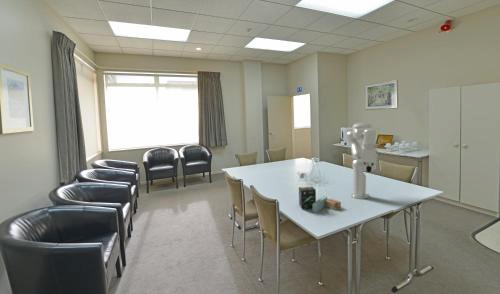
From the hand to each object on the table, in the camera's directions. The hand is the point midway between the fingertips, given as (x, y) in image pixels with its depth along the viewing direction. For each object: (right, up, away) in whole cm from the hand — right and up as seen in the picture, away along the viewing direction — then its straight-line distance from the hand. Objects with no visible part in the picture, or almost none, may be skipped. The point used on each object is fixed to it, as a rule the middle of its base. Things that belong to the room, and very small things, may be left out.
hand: (368, 171), depth 174 cm
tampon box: (-42, -28, +11) cm, 52 cm away
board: (-33, -28, +7) cm, 44 cm away
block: (-24, -28, +8) cm, 37 cm away
